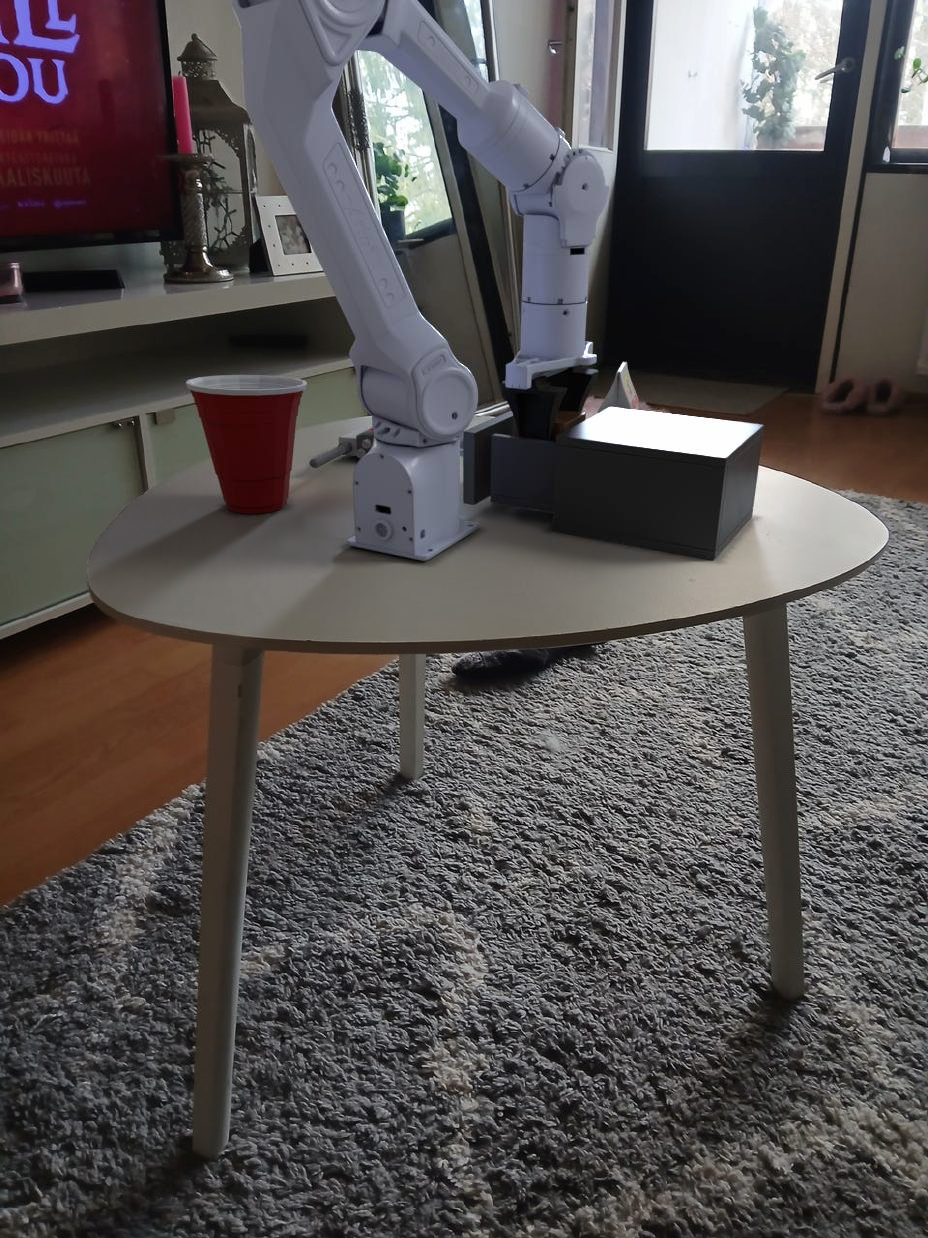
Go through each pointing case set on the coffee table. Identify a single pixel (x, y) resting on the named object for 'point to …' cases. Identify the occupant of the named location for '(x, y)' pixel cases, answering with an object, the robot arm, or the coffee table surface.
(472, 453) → the drawer
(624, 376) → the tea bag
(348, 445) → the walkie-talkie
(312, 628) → the coffee table surface
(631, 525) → the cabinet
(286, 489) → the plastic cup
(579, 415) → the block
